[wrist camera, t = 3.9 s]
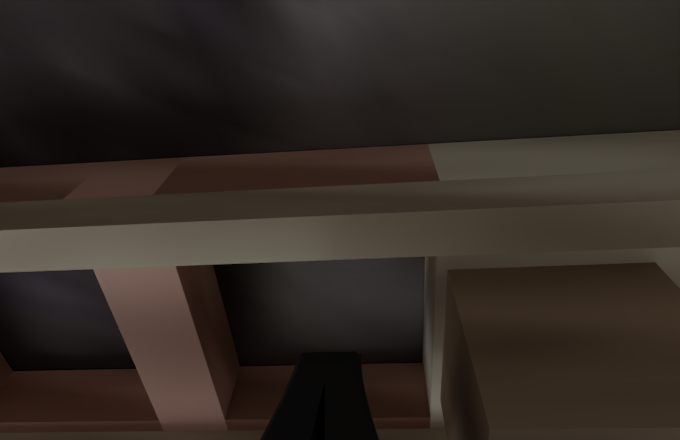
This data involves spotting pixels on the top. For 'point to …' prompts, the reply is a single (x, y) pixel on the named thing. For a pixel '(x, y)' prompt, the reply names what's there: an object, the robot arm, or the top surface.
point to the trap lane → (306, 245)
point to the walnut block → (561, 353)
